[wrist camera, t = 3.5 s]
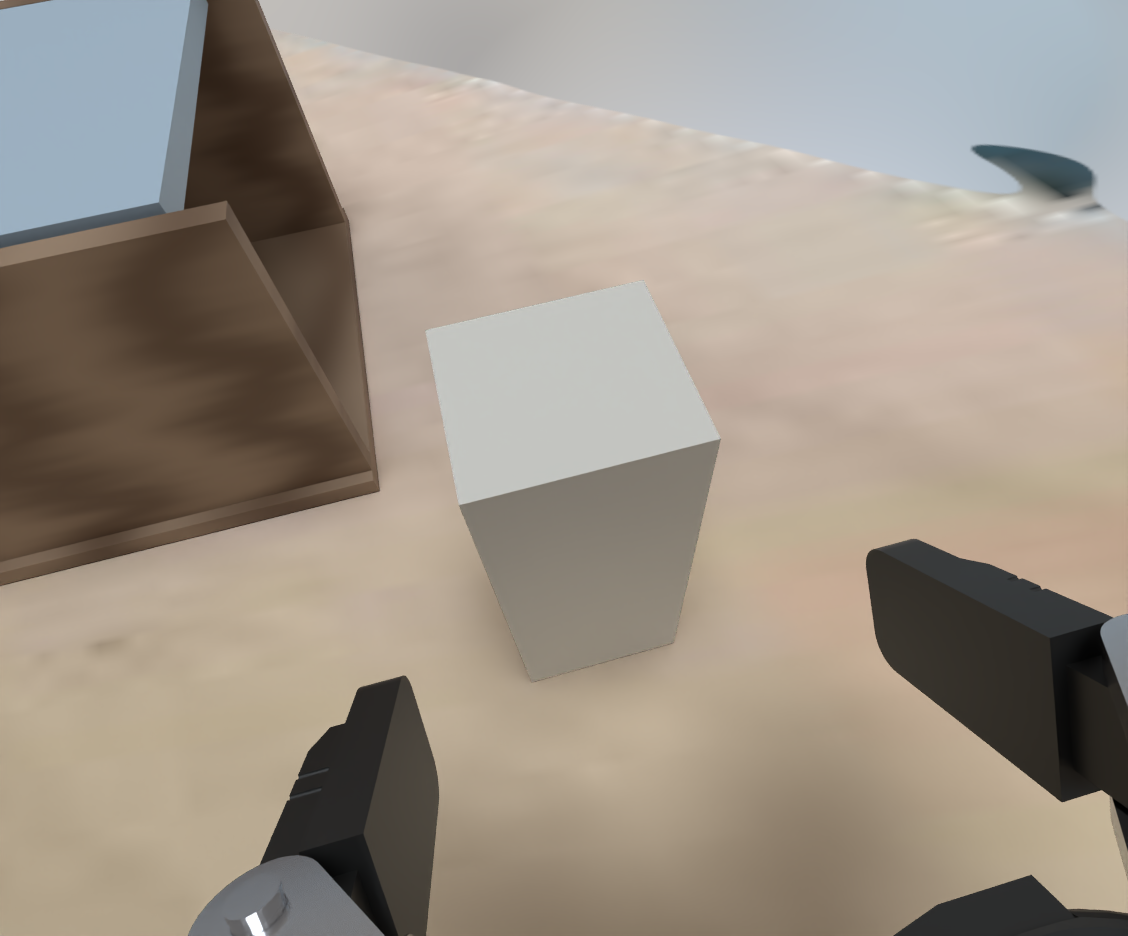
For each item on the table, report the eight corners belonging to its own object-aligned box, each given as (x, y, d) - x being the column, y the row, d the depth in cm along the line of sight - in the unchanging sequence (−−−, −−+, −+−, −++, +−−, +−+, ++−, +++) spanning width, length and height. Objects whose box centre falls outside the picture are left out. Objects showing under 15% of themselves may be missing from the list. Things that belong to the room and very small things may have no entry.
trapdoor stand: (-96, 609, 25) (-607, 408, 14) (8, 293, 35) (-250, 41, 24) (379, 490, 26) (224, 231, 16) (348, 220, 36) (241, -47, 26)
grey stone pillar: (531, 682, 22) (458, 505, 12) (504, 561, 24) (425, 330, 14) (673, 642, 22) (720, 438, 12) (632, 527, 25) (643, 279, 15)
